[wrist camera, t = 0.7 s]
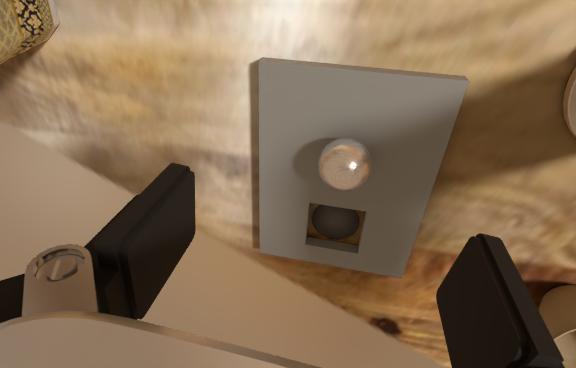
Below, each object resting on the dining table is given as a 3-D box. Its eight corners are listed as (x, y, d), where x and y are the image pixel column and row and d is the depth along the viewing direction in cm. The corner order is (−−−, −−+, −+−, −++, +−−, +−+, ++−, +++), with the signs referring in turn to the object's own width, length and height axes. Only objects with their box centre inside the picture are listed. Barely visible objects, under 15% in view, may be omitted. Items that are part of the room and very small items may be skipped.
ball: (376, 132, 31) (377, 157, 27) (367, 177, 34) (366, 206, 30) (323, 126, 32) (317, 149, 28) (318, 170, 35) (312, 197, 31)
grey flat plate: (464, 76, 29) (469, 81, 27) (400, 269, 42) (401, 278, 40) (262, 57, 31) (258, 61, 30) (262, 244, 44) (259, 252, 43)
